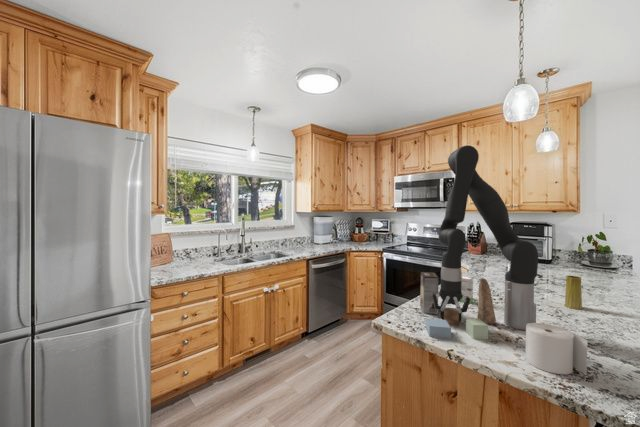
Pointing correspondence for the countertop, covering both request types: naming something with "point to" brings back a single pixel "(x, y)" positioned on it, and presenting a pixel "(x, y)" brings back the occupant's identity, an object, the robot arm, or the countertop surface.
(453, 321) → the walnut cube
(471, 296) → the ink box
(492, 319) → the tan long rounded piece
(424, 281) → the coffee box
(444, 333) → the base block
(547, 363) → the toilet tissue
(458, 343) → the countertop surface
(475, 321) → the sage cube
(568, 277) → the vase
